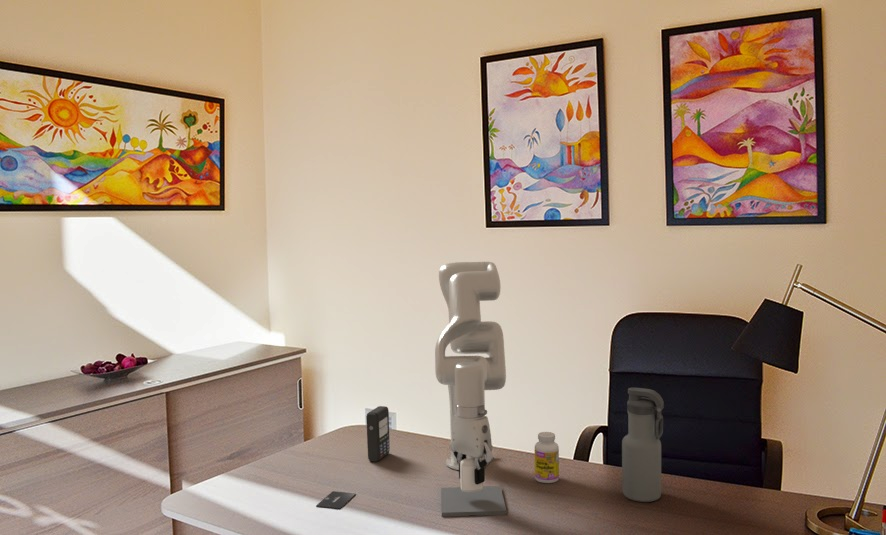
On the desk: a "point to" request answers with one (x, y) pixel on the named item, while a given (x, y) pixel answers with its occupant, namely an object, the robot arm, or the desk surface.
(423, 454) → the desk surface
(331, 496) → the solid state drive
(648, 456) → the water bottle
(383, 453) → the card reader
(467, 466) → the eye dropper bottle
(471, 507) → the charcoal mat
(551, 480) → the supplement bottle
